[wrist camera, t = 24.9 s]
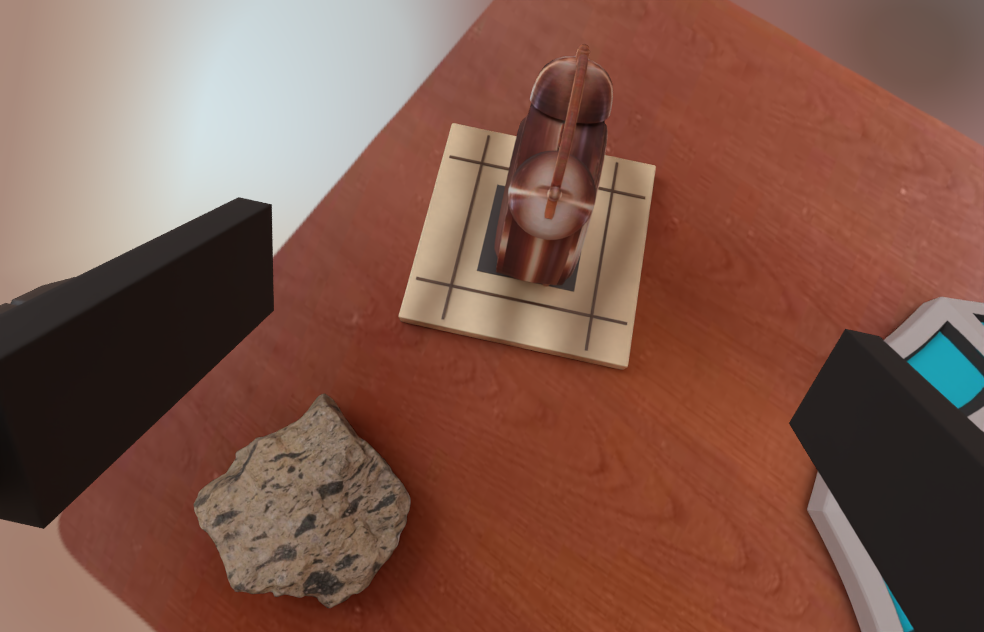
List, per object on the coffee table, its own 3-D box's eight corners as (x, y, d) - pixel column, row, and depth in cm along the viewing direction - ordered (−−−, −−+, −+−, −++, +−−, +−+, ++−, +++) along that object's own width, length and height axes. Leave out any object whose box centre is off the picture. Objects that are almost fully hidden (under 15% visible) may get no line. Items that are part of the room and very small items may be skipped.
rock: (294, 646, 31) (268, 672, 27) (198, 490, 33) (160, 493, 29) (438, 526, 33) (434, 534, 29) (340, 388, 35) (323, 378, 31)
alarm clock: (554, 314, 36) (610, 211, 22) (486, 299, 36) (497, 186, 22) (580, 178, 39) (644, 9, 25) (517, 165, 39) (545, -12, 25)
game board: (400, 321, 37) (397, 316, 35) (452, 132, 41) (452, 121, 40) (623, 370, 36) (628, 366, 35) (651, 173, 41) (656, 164, 40)
